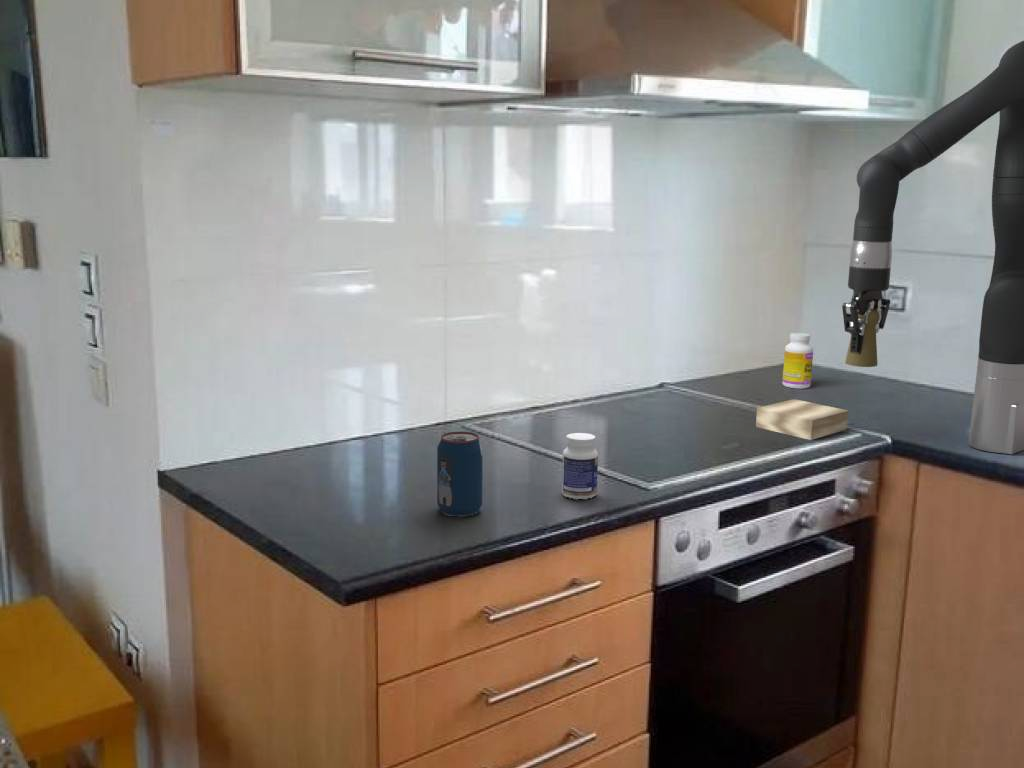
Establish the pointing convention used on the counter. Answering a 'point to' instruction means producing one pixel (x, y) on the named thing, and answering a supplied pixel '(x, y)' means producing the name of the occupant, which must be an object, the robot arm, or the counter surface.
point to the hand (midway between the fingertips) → (862, 352)
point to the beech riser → (802, 419)
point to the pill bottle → (580, 467)
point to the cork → (866, 344)
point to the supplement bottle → (798, 362)
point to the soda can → (459, 473)
